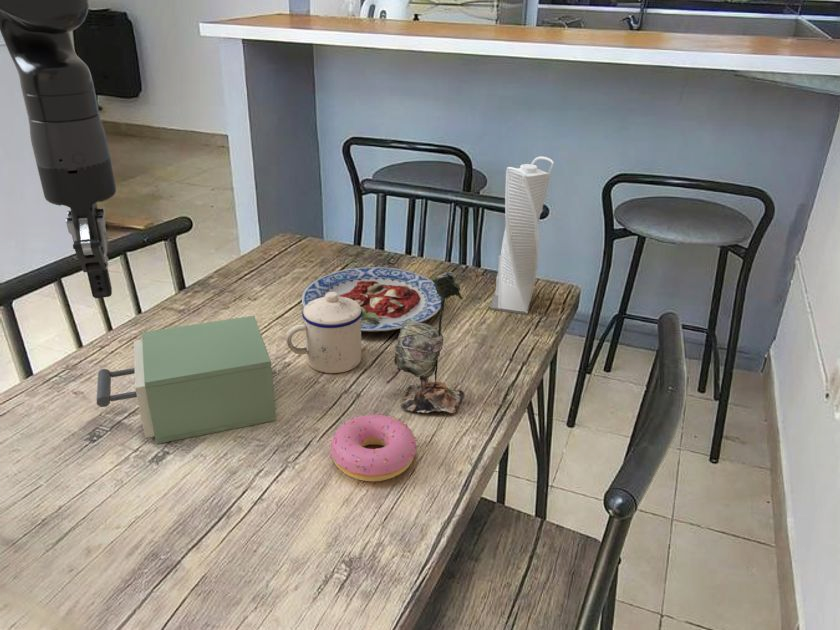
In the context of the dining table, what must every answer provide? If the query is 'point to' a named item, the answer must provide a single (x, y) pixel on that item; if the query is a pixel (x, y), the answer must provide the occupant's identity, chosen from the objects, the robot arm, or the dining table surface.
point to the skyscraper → (520, 237)
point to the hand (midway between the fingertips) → (102, 295)
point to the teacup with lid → (330, 333)
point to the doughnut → (373, 461)
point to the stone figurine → (426, 357)
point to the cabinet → (207, 378)
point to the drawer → (140, 393)
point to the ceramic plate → (380, 295)
